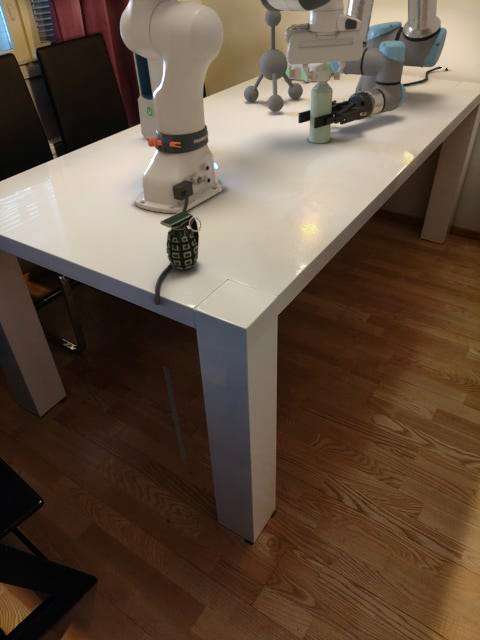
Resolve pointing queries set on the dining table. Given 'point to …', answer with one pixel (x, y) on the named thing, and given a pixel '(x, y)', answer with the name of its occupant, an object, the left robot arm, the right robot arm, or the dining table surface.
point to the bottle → (320, 111)
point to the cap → (322, 75)
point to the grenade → (182, 240)
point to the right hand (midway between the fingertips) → (307, 120)
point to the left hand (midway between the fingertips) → (322, 80)
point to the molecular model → (273, 69)
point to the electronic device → (148, 92)
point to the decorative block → (299, 74)
